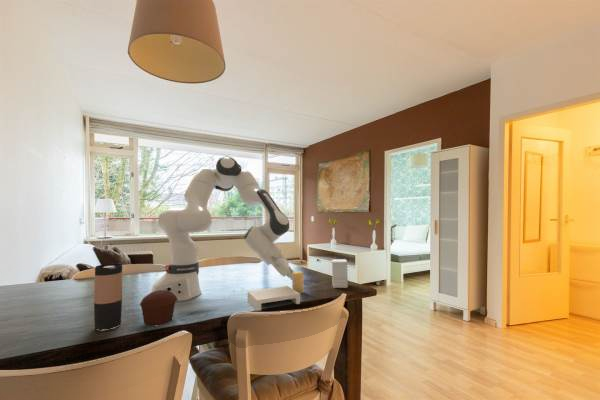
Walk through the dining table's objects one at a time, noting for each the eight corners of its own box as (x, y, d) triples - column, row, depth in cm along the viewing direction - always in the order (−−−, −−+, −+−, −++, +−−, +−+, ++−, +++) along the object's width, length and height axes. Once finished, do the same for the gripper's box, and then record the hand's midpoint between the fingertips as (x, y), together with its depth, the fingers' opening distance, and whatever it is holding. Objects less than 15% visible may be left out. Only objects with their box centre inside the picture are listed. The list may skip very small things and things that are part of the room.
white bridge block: (257, 310, 106) (257, 300, 106) (247, 300, 118) (247, 291, 118) (300, 303, 114) (300, 293, 114) (287, 294, 126) (287, 285, 126)
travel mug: (102, 322, 96) (103, 263, 97) (126, 321, 97) (127, 263, 97) (88, 332, 88) (89, 268, 89) (113, 331, 89) (114, 267, 90)
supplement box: (346, 284, 143) (346, 259, 143) (347, 288, 136) (347, 261, 136) (332, 283, 144) (331, 258, 144) (332, 287, 136) (332, 261, 137)
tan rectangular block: (295, 294, 126) (295, 274, 127) (290, 291, 131) (290, 272, 131) (305, 292, 128) (305, 273, 129) (300, 290, 133) (300, 270, 133)
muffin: (136, 329, 90) (136, 298, 90) (142, 317, 100) (142, 289, 101) (177, 324, 94) (177, 294, 95) (178, 313, 105) (178, 285, 105)
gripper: (276, 254, 120) (299, 277, 120) (277, 247, 140) (297, 266, 141) (266, 265, 119) (289, 287, 120) (268, 256, 140) (288, 276, 140)
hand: (293, 276), depth 130 cm, fingers open, 8 cm apart
